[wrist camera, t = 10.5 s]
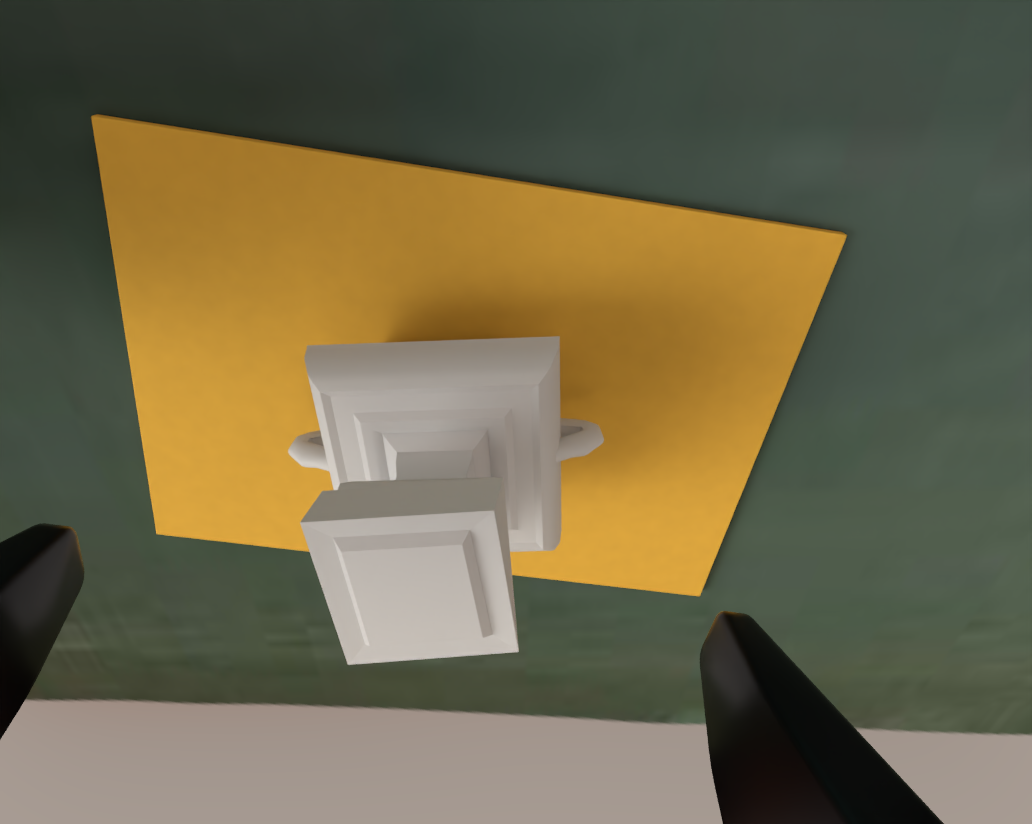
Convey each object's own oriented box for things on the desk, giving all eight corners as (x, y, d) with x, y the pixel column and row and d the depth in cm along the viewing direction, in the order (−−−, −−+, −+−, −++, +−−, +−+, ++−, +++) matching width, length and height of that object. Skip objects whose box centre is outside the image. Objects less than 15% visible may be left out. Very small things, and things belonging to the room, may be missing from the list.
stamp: (330, 491, 23) (246, 712, 16) (286, 310, 20) (155, 488, 13) (595, 481, 23) (628, 700, 16) (596, 296, 20) (641, 469, 13)
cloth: (160, 528, 25) (156, 534, 24) (96, 113, 18) (90, 115, 17) (698, 590, 26) (699, 596, 26) (843, 231, 19) (847, 235, 19)
